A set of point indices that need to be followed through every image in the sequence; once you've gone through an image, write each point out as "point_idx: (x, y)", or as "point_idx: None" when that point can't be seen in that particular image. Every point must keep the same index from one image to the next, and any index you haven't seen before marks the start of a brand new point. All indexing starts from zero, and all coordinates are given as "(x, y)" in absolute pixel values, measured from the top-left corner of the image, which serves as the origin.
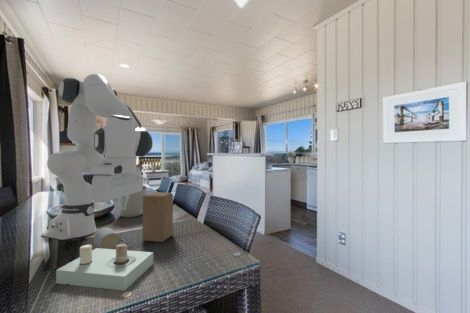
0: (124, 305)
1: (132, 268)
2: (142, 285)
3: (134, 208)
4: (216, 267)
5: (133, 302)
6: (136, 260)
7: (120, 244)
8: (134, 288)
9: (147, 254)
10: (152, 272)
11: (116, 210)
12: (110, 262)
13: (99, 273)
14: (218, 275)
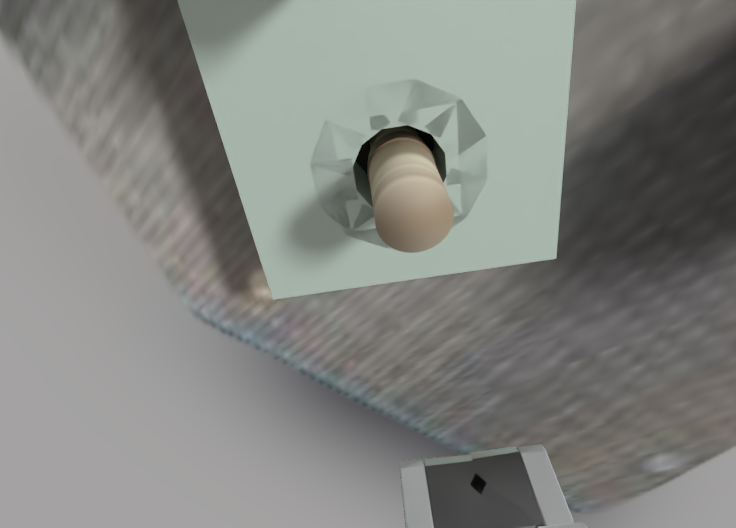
0: (211, 318)
1: (349, 281)
2: (340, 296)
3: None
4: (537, 443)
5: (239, 332)
6: None
7: (433, 194)
8: None
9: (522, 246)
10: None
11: (402, 477)
12: (366, 115)
13: (237, 165)
14: None
